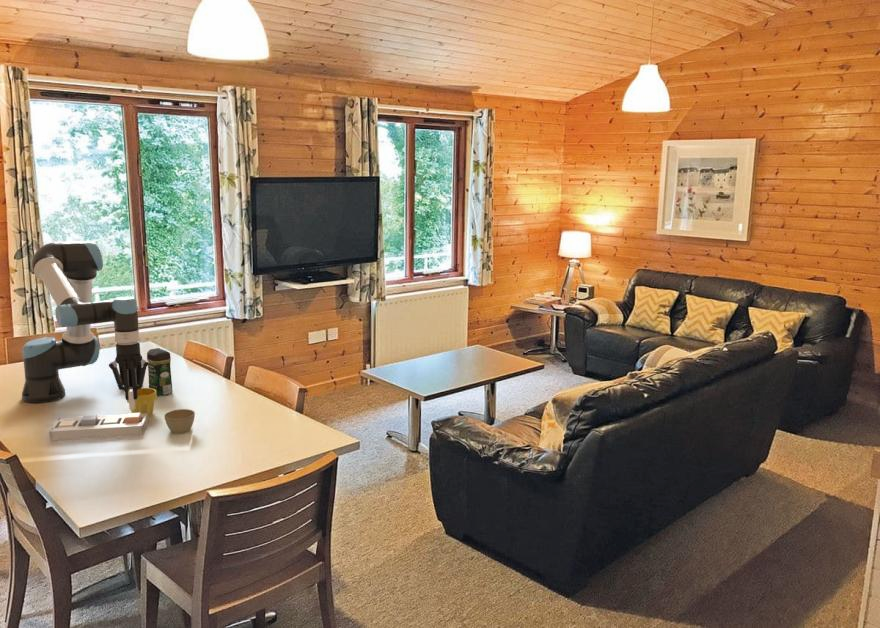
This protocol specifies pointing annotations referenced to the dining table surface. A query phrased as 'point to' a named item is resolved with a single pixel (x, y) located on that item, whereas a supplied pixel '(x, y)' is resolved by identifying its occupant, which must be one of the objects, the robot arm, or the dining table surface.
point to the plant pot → (145, 401)
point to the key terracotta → (132, 418)
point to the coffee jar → (159, 371)
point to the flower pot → (179, 420)
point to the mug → (138, 373)
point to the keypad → (98, 428)
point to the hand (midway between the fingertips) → (132, 408)
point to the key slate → (89, 420)
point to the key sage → (111, 421)
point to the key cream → (67, 424)
